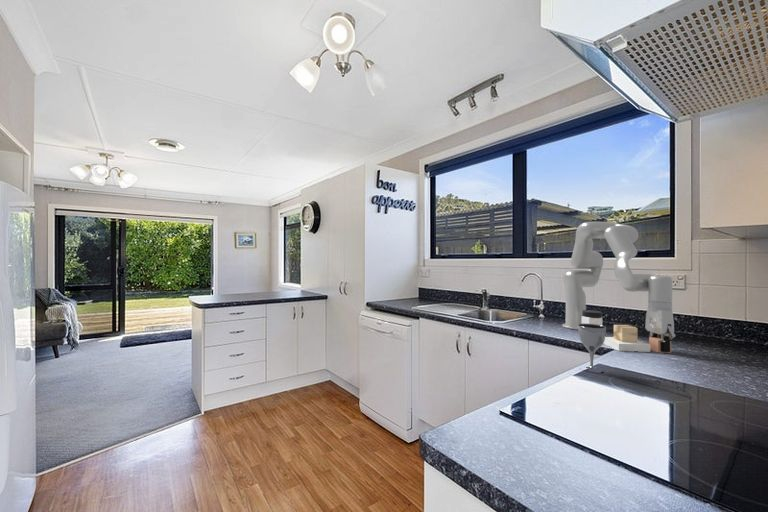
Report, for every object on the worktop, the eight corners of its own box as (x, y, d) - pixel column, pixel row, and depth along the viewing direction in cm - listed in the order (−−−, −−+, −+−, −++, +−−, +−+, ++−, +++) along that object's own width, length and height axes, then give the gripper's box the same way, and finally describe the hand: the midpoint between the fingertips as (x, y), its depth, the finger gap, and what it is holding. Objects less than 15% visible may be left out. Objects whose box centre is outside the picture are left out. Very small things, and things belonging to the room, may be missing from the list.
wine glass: (580, 372, 110) (581, 327, 110) (576, 365, 117) (576, 322, 117) (608, 375, 107) (609, 329, 107) (602, 367, 114) (602, 324, 114)
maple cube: (613, 338, 144) (613, 324, 144) (628, 338, 143) (628, 325, 143) (622, 342, 138) (622, 327, 138) (637, 342, 137) (637, 328, 137)
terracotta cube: (649, 349, 138) (649, 337, 138) (662, 349, 138) (662, 337, 138) (657, 352, 133) (657, 340, 133) (671, 353, 133) (671, 340, 133)
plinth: (602, 343, 147) (602, 336, 147) (631, 344, 146) (631, 337, 146) (618, 351, 135) (618, 343, 135) (650, 352, 134) (650, 344, 134)
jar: (599, 338, 156) (599, 313, 156) (579, 335, 162) (579, 311, 162) (604, 335, 162) (604, 311, 162) (585, 333, 168) (585, 309, 168)
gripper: (636, 302, 145) (636, 344, 144) (665, 308, 128) (665, 355, 127) (654, 302, 144) (654, 344, 144) (686, 308, 127) (686, 356, 127)
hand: (660, 349), depth 136 cm, fingers closed on terracotta cube, 5 cm apart
